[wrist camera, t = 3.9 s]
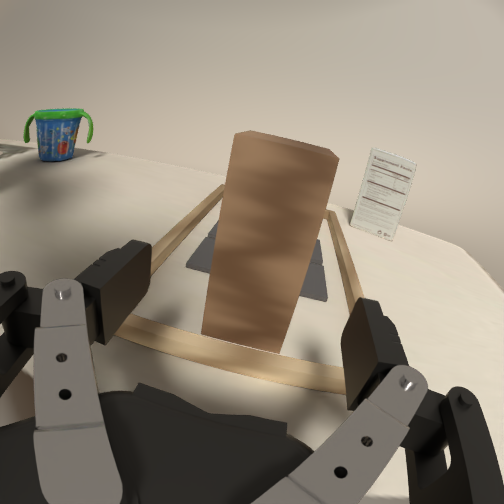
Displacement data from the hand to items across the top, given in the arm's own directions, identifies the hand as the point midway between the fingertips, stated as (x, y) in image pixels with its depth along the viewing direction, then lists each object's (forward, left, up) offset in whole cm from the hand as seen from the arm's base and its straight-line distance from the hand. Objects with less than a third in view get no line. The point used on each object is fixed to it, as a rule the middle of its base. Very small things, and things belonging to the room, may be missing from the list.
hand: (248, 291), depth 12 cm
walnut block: (0, +7, -7) cm, 10 cm away
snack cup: (-45, +39, -7) cm, 60 cm away
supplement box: (+16, +38, -7) cm, 42 cm away
